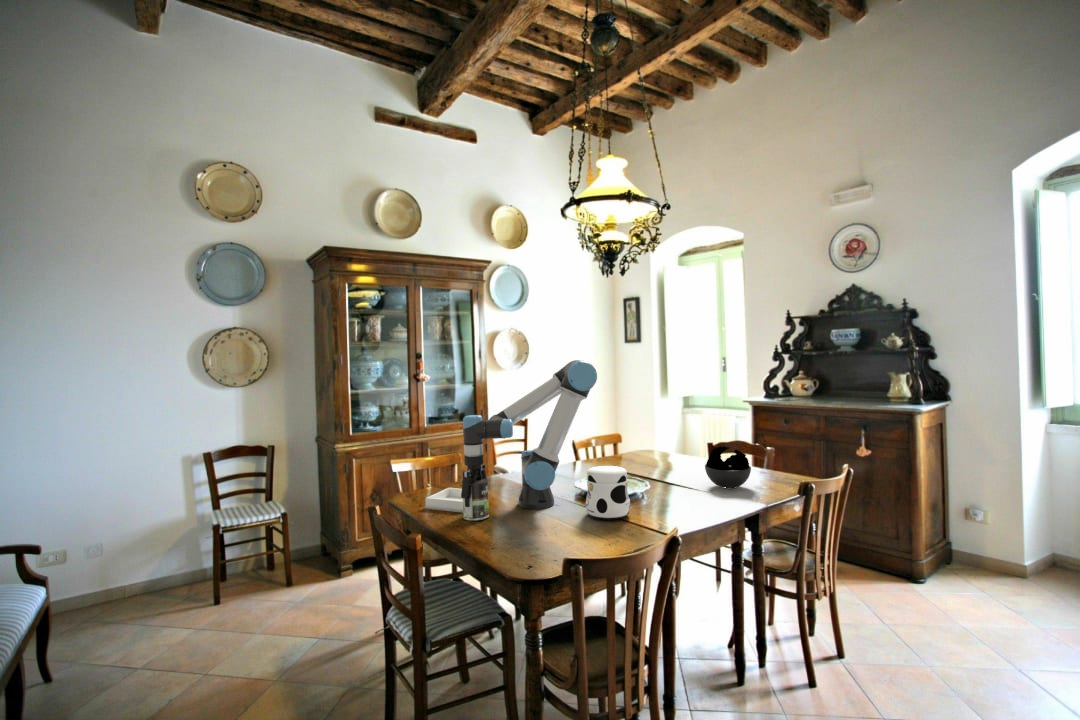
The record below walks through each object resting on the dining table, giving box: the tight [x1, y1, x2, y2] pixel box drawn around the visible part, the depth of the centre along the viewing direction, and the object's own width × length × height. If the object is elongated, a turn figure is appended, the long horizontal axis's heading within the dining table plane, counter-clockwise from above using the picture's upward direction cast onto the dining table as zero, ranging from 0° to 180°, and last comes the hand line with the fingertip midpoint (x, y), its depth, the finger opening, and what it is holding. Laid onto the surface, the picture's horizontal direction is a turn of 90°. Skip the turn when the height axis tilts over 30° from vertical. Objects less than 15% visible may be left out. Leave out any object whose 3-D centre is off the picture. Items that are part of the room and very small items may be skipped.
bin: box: [425, 487, 463, 514], centre depth 231 cm, size 18×18×4 cm
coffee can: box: [461, 478, 490, 521], centre depth 212 cm, size 10×10×14 cm
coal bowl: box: [704, 445, 752, 489], centre depth 247 cm, size 20×20×19 cm
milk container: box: [585, 465, 631, 520], centre depth 210 cm, size 17×17×18 cm
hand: (475, 510), depth 212 cm, fingers closed on coffee can, 10 cm apart
